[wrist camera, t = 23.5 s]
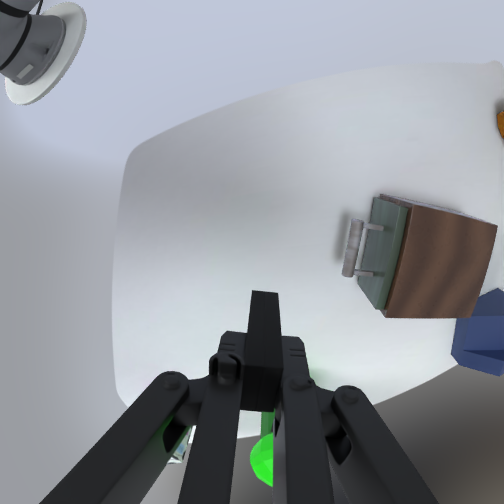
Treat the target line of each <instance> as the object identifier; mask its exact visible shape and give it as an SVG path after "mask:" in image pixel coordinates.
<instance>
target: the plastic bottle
mask: <svg viewBox="0 0 504 504" xmlns="http://www.w3.org/2000/svg"><path fill="white" fill-rule="evenodd" d="M274 416H275V408H274V412H273V413H272V412H262V414H261V440H260V441H259V442H258V443H257V444H256V445H255V446H254V447H253V449H252V451H251V454H250V463H251V465H252V468H253V470H254V472H255V474H256V476H257V477H258V478H259V479H261V480H262V481H264V482H265V483H267V484H268V485H270V486H272V487H273V432H271V428H272V424H273V420H274Z"/></svg>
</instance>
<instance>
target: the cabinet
mask: <svg viewBox="0 0 504 504" xmlns="http://www.w3.org/2000/svg"><path fill="white" fill-rule="evenodd" d="M379 198H380V199H384V200H387V201H390V202H393V203H396V204H399V205H402V206H405V207H407V208H408V216H407V222H406V227H405V232H404V237H403V241H402V246H401V250H400V255H399V259H398V263H397V267H396V271H395V275H394V279H393V282H392V286H391V289H390V293H389V296H388V297H387V301H386V304H385V307H384V310H380V311H381V312H382V314H383V315H384V317H385V318H471V315H472V313H473V310H474V307H475V305H476V302H477V299H478V297H479V294H480V291H481V288H482V285H483V282H484V279H485V275H486V272H487V269H488V265H489V261H490V258H491V254H492V250H493V246H494V242H495V237H496V233H497V228H498V226H497V225H495V224H492V223H489V222H487V221H484V220H481V219H478V218H475V217H473V216H470V215H467V214H464V213H461V212H458V211H454V210H450V209H446V208H442V207H438V206H434V205H430V204H426V203H421V202H417V201H412V200H408V199H403V198H399V197H394V196H389V195H384V194H380V197H379Z"/></svg>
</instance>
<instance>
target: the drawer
mask: <svg viewBox="0 0 504 504" xmlns="http://www.w3.org/2000/svg"><path fill="white" fill-rule="evenodd" d="M407 216H408V208H407V207H405V206H402V205H399V204H396V203H393V202H390V201H387V200H384V199H380V198H374V203H373V209H372V215H371V221H370V223H364V221H362V220H358V219H352V222H351V227H350V233H349V239H348V244H347V249H346V255H345V260H344V265H343V269H342V275H343V276H345V277H353V274H354V275H359V279H358V285H359V286H360V288H361V289H362V291H363V292H364V293H365V295H366V296H367V298H368V299H369V301H370V302H371V303H372V305H373V306H374V308H375V309H379V310H384V307H385V304H386V301H387V297H388V296H389V293H390V289H391V286H392V282H393V279H394V275H395V271H396V264H397V260H398V256H399V252H400V247H401V243H402V238H403V234H404V232H405V227H406V222H407ZM363 228H366V229H369V232H368V238H367V243H366V248H365V253H364V257H363V262H362V266H361V270H357V269H355V265H356V260H357V256H358V251H359V246H360V241H361V235H362V230H363Z"/></svg>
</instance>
